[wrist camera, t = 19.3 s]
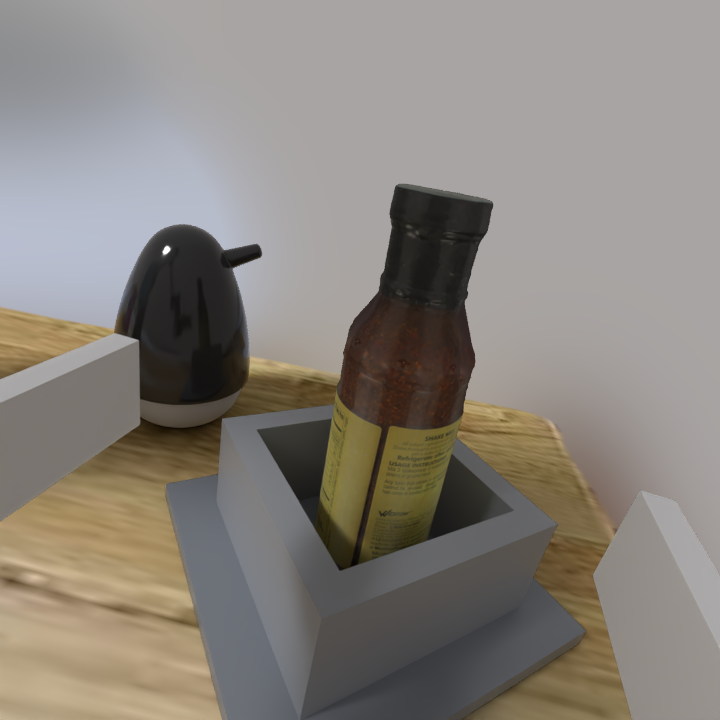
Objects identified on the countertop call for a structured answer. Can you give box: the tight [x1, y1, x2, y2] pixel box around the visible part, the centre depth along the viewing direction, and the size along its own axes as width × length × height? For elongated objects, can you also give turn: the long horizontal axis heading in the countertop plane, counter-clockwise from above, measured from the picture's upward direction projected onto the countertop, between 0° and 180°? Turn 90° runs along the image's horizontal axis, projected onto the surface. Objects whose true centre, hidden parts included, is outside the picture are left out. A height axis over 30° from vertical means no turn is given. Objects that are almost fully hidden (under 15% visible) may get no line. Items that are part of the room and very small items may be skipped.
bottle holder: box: [166, 405, 586, 720], centre depth 25 cm, size 18×18×7 cm
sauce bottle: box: [315, 184, 493, 571], centre depth 22 cm, size 7×6×20 cm
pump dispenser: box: [114, 224, 262, 428], centre depth 35 cm, size 10×10×15 cm
